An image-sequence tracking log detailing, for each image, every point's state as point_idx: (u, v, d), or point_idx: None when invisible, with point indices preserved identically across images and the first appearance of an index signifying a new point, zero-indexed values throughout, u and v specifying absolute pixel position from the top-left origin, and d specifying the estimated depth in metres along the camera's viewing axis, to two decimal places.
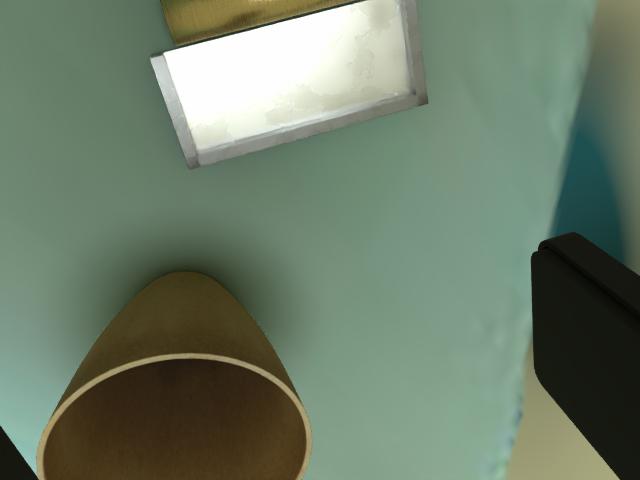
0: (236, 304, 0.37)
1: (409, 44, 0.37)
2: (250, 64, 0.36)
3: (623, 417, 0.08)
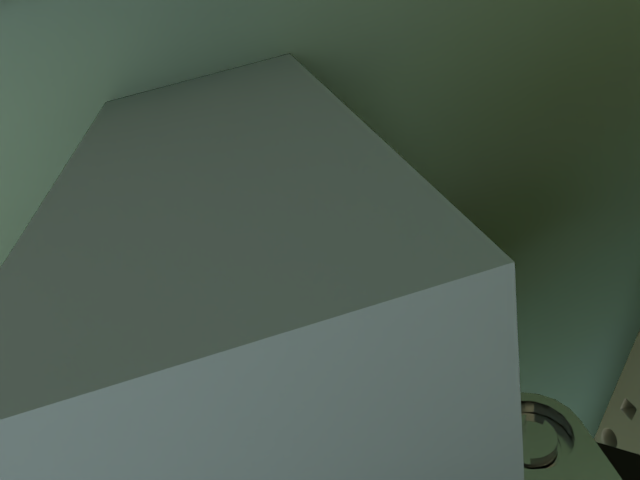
0: None
1: None
2: None
3: None
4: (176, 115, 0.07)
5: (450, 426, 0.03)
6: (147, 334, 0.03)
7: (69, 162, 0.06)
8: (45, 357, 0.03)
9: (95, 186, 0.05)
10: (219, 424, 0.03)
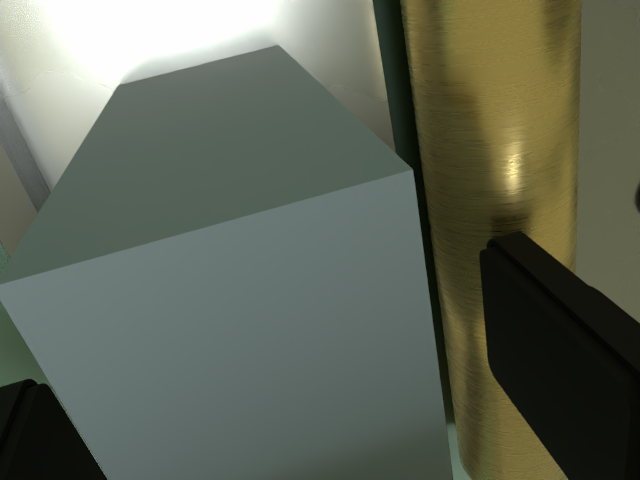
0: None
1: None
2: None
3: (558, 407, 0.08)
4: (180, 93, 0.08)
5: (376, 294, 0.04)
6: (165, 219, 0.04)
7: (92, 128, 0.07)
8: (94, 237, 0.04)
9: (117, 142, 0.06)
10: (213, 282, 0.04)
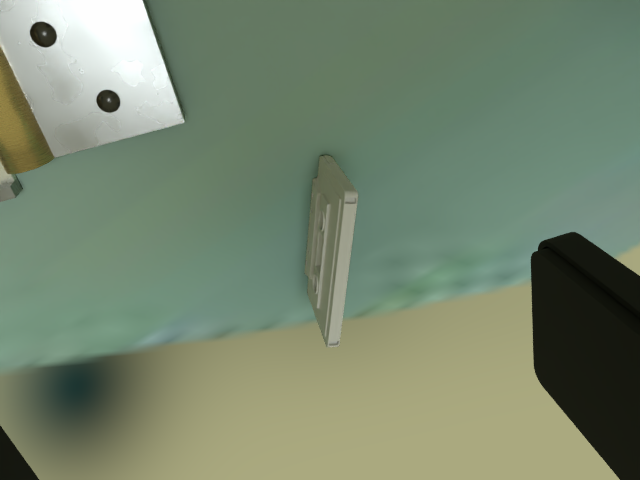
0: None
1: None
2: None
3: (623, 417, 0.08)
4: None
5: None
6: None
7: None
8: None
9: None
10: None
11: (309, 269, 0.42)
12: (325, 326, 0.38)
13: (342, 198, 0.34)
